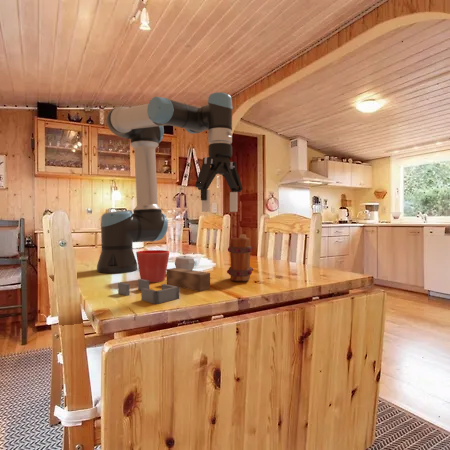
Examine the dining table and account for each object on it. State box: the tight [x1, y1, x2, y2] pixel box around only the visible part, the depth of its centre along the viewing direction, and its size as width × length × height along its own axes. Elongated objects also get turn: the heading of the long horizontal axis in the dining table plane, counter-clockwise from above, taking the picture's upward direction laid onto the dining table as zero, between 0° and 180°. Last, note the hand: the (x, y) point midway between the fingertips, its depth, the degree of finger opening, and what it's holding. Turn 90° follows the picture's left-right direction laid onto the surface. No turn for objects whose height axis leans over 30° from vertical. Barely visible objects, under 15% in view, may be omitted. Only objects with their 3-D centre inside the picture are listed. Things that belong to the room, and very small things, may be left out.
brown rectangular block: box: [166, 267, 211, 292], centre depth 102 cm, size 15×4×5 cm, turn 49°
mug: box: [226, 233, 254, 283], centre depth 114 cm, size 15×8×15 cm, turn 168°
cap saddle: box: [117, 278, 150, 297], centre depth 95 cm, size 4×8×3 cm, turn 139°
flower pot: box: [135, 249, 170, 283], centre depth 112 cm, size 11×11×10 cm
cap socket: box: [140, 283, 180, 305], centre depth 87 cm, size 6×8×3 cm
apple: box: [174, 255, 196, 270], centre depth 125 cm, size 8×8×7 cm
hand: (220, 211), depth 106 cm, fingers open, 13 cm apart
